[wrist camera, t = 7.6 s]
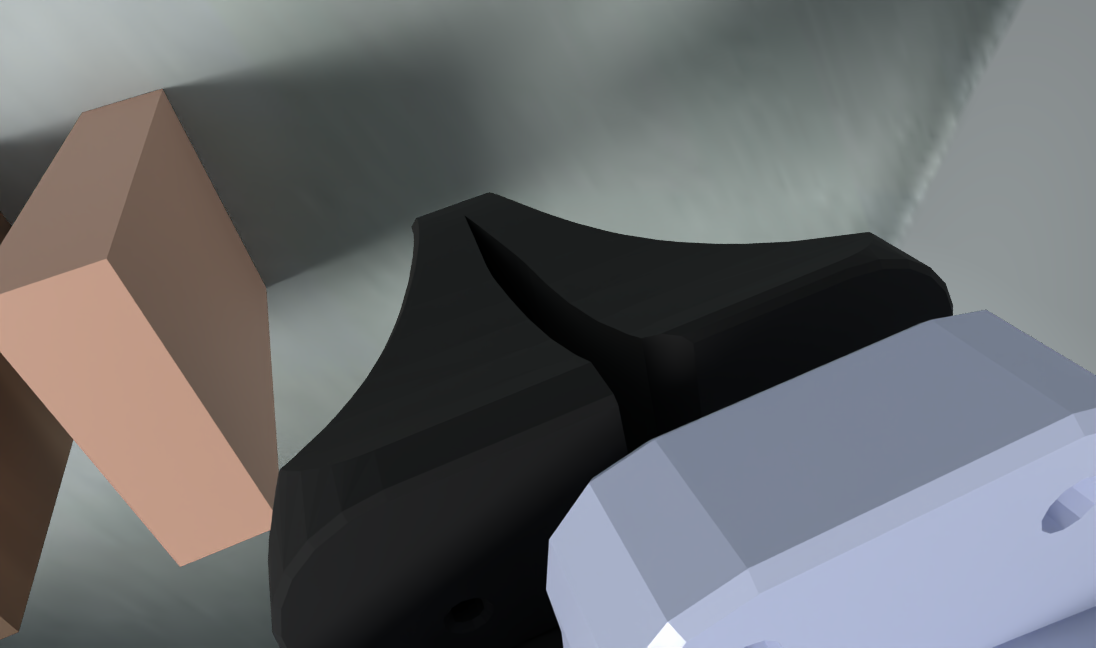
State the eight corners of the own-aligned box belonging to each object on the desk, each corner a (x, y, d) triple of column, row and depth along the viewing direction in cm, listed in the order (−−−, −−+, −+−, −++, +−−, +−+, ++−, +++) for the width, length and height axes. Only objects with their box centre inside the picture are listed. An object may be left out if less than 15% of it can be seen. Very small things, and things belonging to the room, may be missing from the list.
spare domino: (162, 88, 15) (107, 259, 8) (266, 288, 18) (281, 524, 11) (82, 112, 15) (-39, 306, 8) (201, 310, 17) (179, 567, 11)
